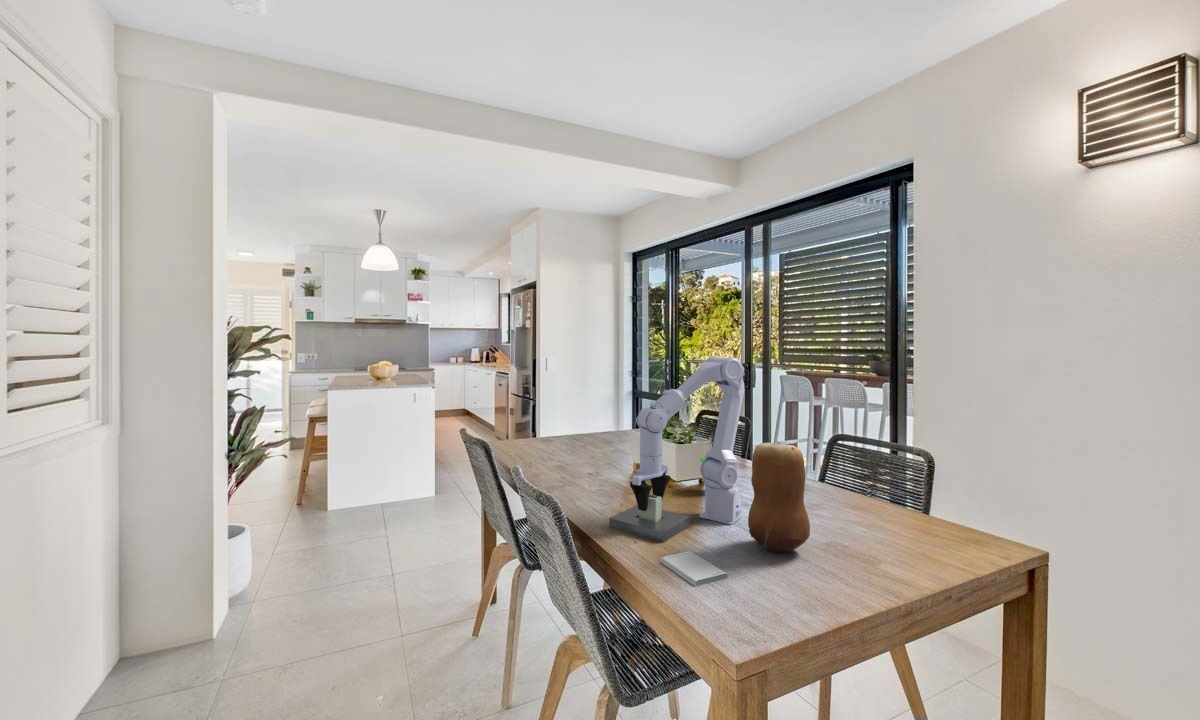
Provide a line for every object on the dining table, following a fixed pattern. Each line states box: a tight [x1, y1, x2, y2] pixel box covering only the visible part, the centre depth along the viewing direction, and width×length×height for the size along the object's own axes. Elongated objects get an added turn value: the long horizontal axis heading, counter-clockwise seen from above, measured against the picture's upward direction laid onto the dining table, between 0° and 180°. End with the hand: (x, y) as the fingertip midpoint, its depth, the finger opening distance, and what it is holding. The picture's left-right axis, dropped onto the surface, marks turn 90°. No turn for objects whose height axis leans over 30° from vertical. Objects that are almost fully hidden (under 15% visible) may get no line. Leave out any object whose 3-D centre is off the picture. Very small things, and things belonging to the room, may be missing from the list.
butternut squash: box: [747, 442, 811, 554], centre depth 119 cm, size 14×13×25 cm
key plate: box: [608, 504, 691, 544], centre depth 133 cm, size 16×14×2 cm
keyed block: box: [639, 494, 663, 522], centre depth 133 cm, size 3×5×8 cm, turn 53°
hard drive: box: [660, 550, 728, 587], centre depth 109 cm, size 2×8×12 cm
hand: (650, 506), depth 133 cm, fingers open, 7 cm apart
